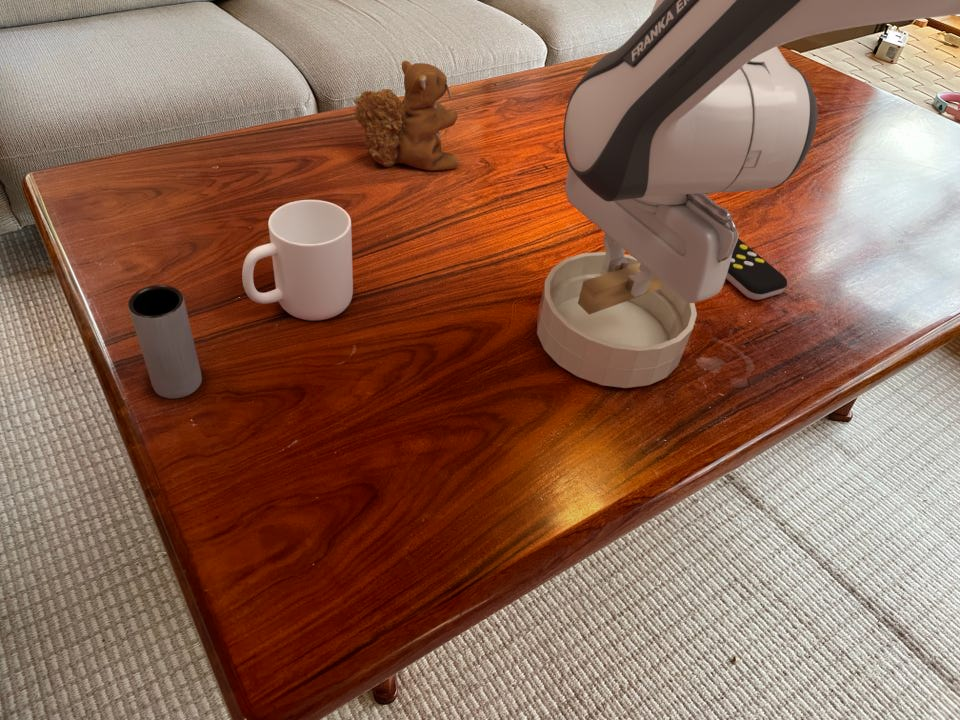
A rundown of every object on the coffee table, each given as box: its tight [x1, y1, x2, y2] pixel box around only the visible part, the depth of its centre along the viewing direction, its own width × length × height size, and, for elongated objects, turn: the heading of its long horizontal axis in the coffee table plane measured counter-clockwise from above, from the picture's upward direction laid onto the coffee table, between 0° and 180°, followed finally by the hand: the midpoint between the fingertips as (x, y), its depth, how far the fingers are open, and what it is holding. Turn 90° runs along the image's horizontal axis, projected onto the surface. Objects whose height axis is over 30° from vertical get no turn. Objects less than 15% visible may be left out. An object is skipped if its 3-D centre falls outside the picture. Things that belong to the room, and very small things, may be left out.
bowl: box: [536, 251, 698, 389], centre depth 80 cm, size 16×16×6 cm
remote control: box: [725, 237, 788, 301], centre depth 94 cm, size 6×13×2 cm, turn 27°
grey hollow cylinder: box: [127, 284, 203, 399], centre depth 68 cm, size 4×4×10 cm
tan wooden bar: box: [578, 263, 663, 315], centre depth 77 cm, size 10×2×3 cm, turn 122°
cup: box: [241, 199, 354, 321], centre depth 78 cm, size 8×12×10 cm
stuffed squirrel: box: [352, 60, 460, 172], centre depth 102 cm, size 10×14×13 cm
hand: (624, 282), depth 77 cm, fingers closed on tan wooden bar, 2 cm apart
